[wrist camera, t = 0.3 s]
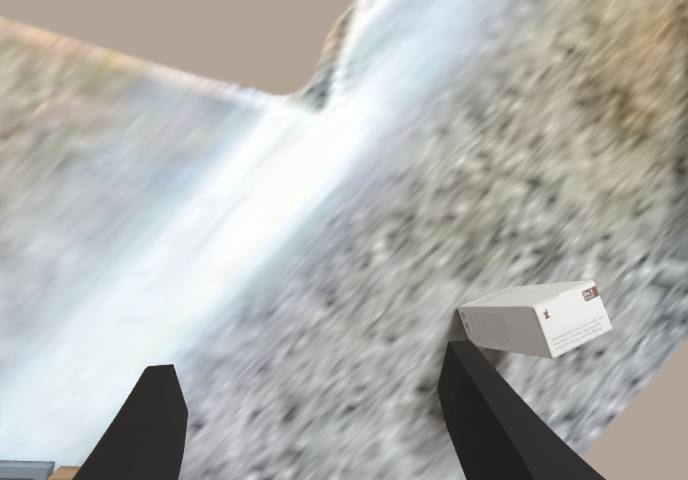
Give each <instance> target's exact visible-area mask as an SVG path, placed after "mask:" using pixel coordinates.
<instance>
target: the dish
mask: <svg viewBox="0 0 688 480" xmlns="http://www.w3.org/2000/svg"><path fill="white" fill-rule="evenodd" d="M54 464H55V462H38V461H4V460H0V480H47V479H48V478H49V477H50V476H51V475H52V474H53V470H54Z"/></svg>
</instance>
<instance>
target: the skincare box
mask: <svg viewBox="0 0 688 480" xmlns="http://www.w3.org/2000/svg"><path fill="white" fill-rule="evenodd" d="M458 311H459V314H460V317H461V320H462V323H463V326H464V329H465V331H466V334H467V337H468V339H469V340H471V341H472V342H473V343H474V345H475V346H477V347H483V348H490V349H496V350H502V351H508V352H514V353H520V354H526V355H533V356H540V357H545V358H551V359H554V358H556V357H558V356H560V355H562V354H564V353H566V352H568V351H570V350H572V349H574V348H576V347H578V346H580V345H582V344H584V343H586V342H588V341H590V340H592V339H594V338H596V337H598V336H600V335H602V334H604V333H606V332H608V331H610V330H612V326H611V323H610V321H609V318H608V316H607V313H606V311H605V308H604V306H603V303H602V301H601V298H600V296H599V294H598V291H597V289H596V286H595V283H594V281H592V280H588V281H575V282H563V283H552V284H542V285H531V286H519V287H508V288H503V289H500V290H498V291H495V292H493V293H491V294H488V295H486V296H483V297H481V298H478V299H476V300H473V301H471V302H468V303H466V304H463V305H461V306H459V307H458Z"/></svg>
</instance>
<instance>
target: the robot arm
mask: <svg viewBox="0 0 688 480" xmlns="http://www.w3.org/2000/svg"><path fill="white" fill-rule="evenodd" d="M437 390H438V394H439V398H440V402H441V406H442V410H443V414H444V418H445V422H446V426H447V428H448V431H449V434H450V437H451V439H452V442H453V445H454V447H455V450H456V453H457V456H458V458H459V461H460V464H461V466H462V469H463V471H464V474H465V477H466V479H467V480H606V479H604V478H603V477H602V476H601V475H600V474H599V473H598V472H596V471H595V470H594V469H593V468H592V467H591V466H590V465H588V464H587V463H586V462H585V461H584V460H583V459H582V458H581V457H580V456H578V455H577V454H576V453H575V452H574V451H573V450H572V449H571V448H570V447H569V446H568V445H567V444H566V443H565V442H564V441H562V440H561V439H560V438H559V437H558V436H557V435H556V434H555V433H554V432H553V431H552V430H551V429H550V428H549V427H548V426H547V425H546V424H545V423H544V422H543V421H542V420H541V419H540V418H539V417H538V416H537V414H536V413H535V412H534V411H533V410H532V409H531V408H530V407H529V406H528V405H527V404H526V403H525V402H524V401H523V399H522V398H521V397H520V396H519V395H518V394H517V393H516V392H515V391H514V390H513V389H512V388H511V386H510V385H509V384H508V383H507V382H506V381H505V380H504V378H503V377H502V376H501V375H500V374H499V373H498V372H497V370H496V369H495V368H494V367H493V366H492V365H491V363H490V362H489V361H488V360H487V359H486V358H485V356H484V355H483V354H482V353H481V352H480V350H479V349H478V348H477V347H476V346H475V345H474V343H473V342H472V341H471V340H465V341H453V342H448V346H447V350H446V354H445V358H444V363H443V367H442V371H441V375H440V379H439V384H438V388H437ZM187 418H188V410H187V407H186V404H185V400H184V397H183V394H182V391H181V388H180V384H179V381H178V378H177V375H176V371H175V368H174V365H173V364H170V365H158V366H148V367H147V368H146V369H145V370H144V371H143V373H142V375H141V377H140V378H139V380H138V382H137V383H136V385H135V387H134V388H133V390H132V392H131V393H130V395H129V396H128V398H127V400H126V401H125V403H124V404H123V406H122V408H121V409H120V411H119V412H118V414H117V415H116V417H115V418H114V420H113V422H112V423H111V425H110V426H109V427H108V429H107V430H106V432H105V433H104V435H103V436H102V438H101V439H100V441H99V442H98V444H97V445H96V447H95V448H94V450H93V451H92V452H91V454H90V455H89V457H88V458H87V460H86V461H85V462H84V464H83V465H82V466H81V468H80V469H79V470H78V472H77V473H76V474H75V476H74V477H73V478H72V480H178V477H179V472H180V468H181V463H182V459H183V454H184V446H185V438H186V428H187Z"/></svg>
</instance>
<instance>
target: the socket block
mask: <svg viewBox="0 0 688 480" xmlns="http://www.w3.org/2000/svg"><path fill="white" fill-rule="evenodd" d="M80 468H81V467H72V466H61V467H60V468H59V469H57V470H56V471H55V472H54V473H53V474H52V475H51V476H50V477H49V478H48V479H47V480H72V478H73V477H74V476H75V474H76V473H77V472H78V470H79V469H80Z"/></svg>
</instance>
